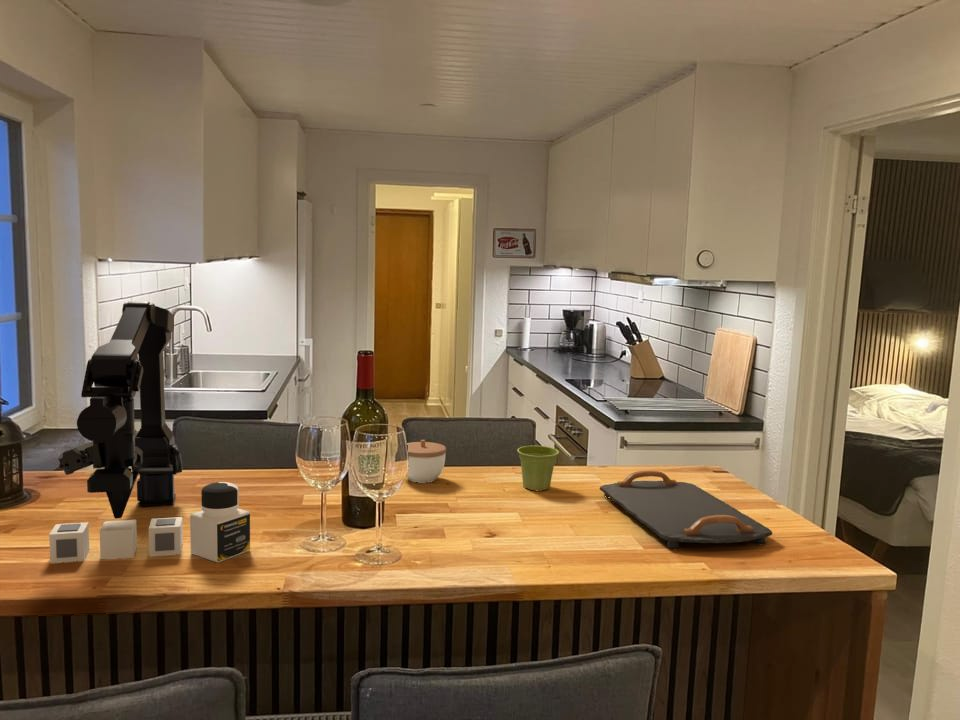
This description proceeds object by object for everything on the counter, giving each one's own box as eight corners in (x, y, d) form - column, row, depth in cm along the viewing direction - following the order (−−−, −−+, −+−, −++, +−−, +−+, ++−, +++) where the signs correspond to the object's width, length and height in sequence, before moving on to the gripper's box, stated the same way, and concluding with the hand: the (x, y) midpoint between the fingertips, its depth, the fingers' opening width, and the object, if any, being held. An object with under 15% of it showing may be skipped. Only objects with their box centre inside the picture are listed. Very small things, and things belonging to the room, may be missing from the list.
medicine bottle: (217, 563, 133) (217, 493, 131) (189, 554, 137) (188, 485, 135) (251, 551, 139) (250, 484, 137) (223, 542, 143) (222, 476, 141)
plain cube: (136, 547, 139) (136, 519, 138) (133, 558, 134) (132, 529, 134) (105, 549, 138) (104, 521, 137) (100, 560, 133) (99, 531, 132)
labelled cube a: (182, 544, 141) (182, 515, 140) (180, 555, 136) (180, 525, 135) (152, 546, 140) (151, 517, 139) (149, 557, 135) (148, 527, 134)
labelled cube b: (89, 550, 137) (88, 521, 136) (83, 561, 132) (82, 531, 131) (56, 552, 135) (55, 523, 135) (50, 564, 130) (48, 533, 130)
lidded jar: (403, 472, 192) (404, 433, 190) (448, 474, 191) (449, 436, 189) (394, 484, 181) (395, 444, 180) (441, 487, 180) (442, 447, 179)
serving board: (783, 552, 149) (786, 520, 148) (669, 558, 143) (671, 525, 142) (684, 490, 186) (686, 464, 185) (591, 494, 180) (592, 467, 180)
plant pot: (558, 494, 178) (560, 456, 177) (516, 492, 178) (518, 454, 177) (555, 482, 187) (557, 446, 186) (515, 481, 187) (516, 444, 186)
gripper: (73, 417, 140) (76, 503, 142) (49, 442, 122) (52, 540, 124) (142, 415, 143) (144, 500, 145) (128, 439, 125) (130, 535, 127)
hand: (118, 517), depth 135 cm, fingers closed
